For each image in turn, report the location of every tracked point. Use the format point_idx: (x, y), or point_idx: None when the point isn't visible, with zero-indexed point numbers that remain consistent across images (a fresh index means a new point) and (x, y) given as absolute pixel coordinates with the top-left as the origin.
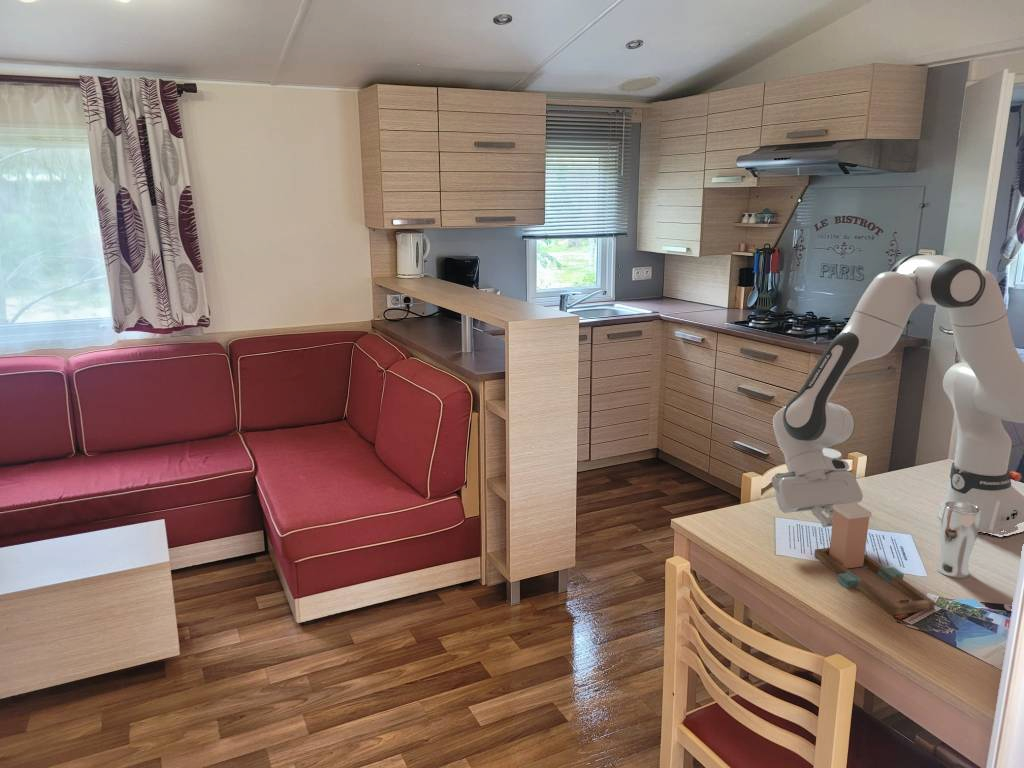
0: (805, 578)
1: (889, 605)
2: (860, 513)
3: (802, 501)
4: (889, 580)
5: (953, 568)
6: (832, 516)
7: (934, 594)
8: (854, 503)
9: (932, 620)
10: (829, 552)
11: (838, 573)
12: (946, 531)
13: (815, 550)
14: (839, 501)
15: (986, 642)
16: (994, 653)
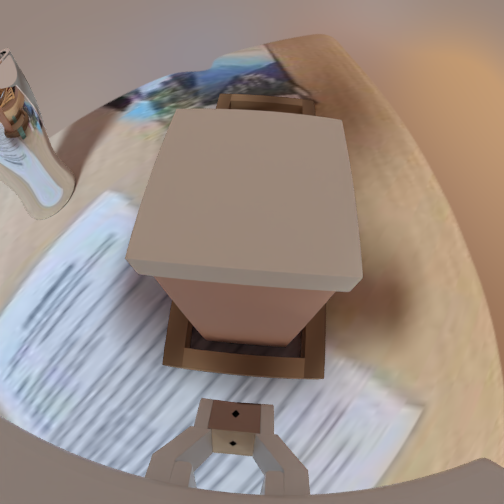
0: (414, 265)
1: (313, 108)
2: (256, 111)
3: (425, 501)
4: None
5: (63, 163)
6: (208, 434)
7: None
8: (148, 239)
9: (253, 91)
10: (288, 343)
11: None
12: (28, 111)
13: (323, 375)
14: (109, 472)
15: (227, 59)
16: (240, 50)
